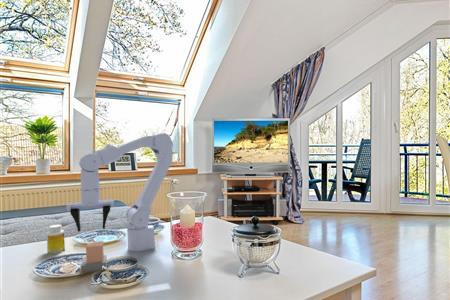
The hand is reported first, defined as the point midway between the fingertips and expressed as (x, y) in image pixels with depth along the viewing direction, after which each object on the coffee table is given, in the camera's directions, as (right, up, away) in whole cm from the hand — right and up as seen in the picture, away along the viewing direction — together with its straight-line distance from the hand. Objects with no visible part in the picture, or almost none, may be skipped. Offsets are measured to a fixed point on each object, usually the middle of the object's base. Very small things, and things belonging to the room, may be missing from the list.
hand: (91, 229), depth 107 cm
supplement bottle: (-16, -11, +7) cm, 20 cm away
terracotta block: (+5, -7, -9) cm, 13 cm away
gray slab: (+5, -9, -9) cm, 14 cm away
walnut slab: (+5, -11, -9) cm, 15 cm away
